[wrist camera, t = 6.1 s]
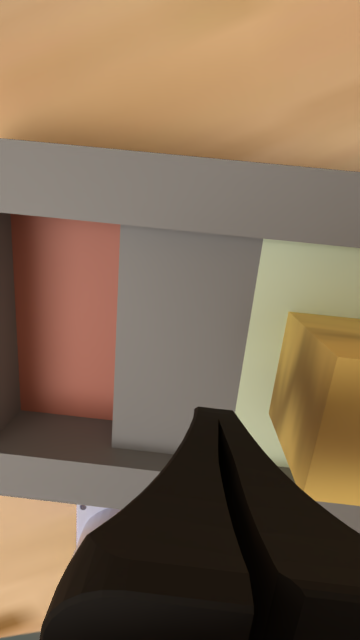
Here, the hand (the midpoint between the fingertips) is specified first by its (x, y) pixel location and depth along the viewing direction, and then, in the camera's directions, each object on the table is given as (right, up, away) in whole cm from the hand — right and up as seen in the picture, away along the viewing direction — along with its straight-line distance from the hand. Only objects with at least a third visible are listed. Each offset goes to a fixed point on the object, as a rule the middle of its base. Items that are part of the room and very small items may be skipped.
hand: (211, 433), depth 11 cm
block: (+7, +1, +6) cm, 10 cm away
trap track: (+3, +2, +9) cm, 10 cm away
